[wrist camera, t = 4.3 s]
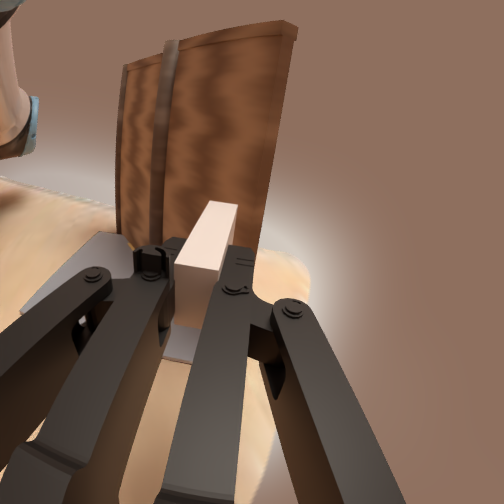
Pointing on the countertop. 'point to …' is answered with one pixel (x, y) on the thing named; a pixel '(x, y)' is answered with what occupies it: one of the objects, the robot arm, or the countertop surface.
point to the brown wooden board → (226, 125)
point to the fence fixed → (143, 145)
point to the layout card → (120, 266)
